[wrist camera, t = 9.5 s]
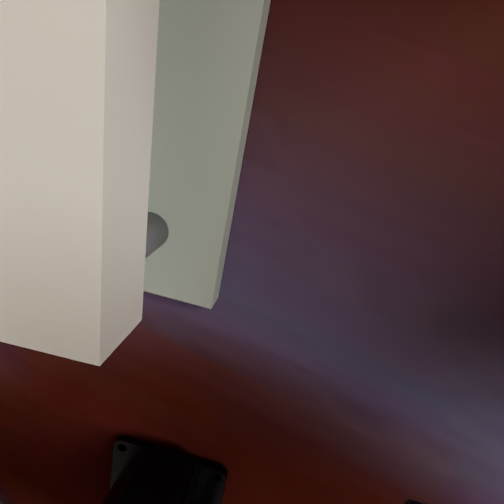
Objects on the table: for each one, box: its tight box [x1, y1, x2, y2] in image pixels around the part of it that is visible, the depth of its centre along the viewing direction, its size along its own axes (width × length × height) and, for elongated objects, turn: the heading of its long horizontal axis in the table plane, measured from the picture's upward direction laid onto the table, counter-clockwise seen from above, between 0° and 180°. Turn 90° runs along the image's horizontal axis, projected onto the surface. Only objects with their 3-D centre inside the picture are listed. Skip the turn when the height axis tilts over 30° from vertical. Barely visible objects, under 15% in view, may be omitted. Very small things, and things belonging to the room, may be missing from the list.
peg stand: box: [144, 0, 271, 309], centre depth 16 cm, size 18×10×5 cm, turn 169°
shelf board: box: [0, 0, 160, 366], centre depth 13 cm, size 16×6×3 cm, turn 172°
